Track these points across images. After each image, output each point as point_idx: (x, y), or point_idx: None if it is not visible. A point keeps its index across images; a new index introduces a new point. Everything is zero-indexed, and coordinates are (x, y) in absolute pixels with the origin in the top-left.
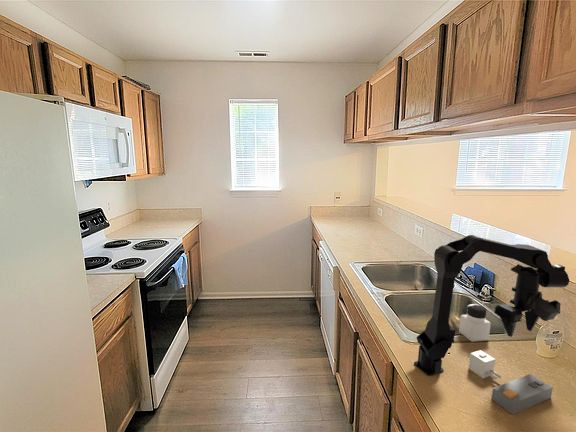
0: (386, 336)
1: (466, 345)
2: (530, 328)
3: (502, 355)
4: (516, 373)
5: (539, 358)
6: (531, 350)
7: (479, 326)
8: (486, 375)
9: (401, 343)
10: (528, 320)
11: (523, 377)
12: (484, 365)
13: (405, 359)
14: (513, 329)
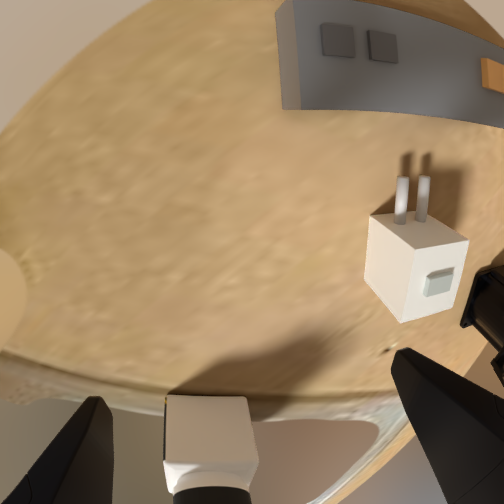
0: None
1: (286, 381)
2: (96, 420)
3: (195, 313)
4: (258, 190)
5: (39, 257)
6: (35, 308)
7: (226, 452)
8: (410, 214)
9: None
10: (97, 501)
11: (368, 105)
12: (458, 234)
13: None
14: (471, 396)
